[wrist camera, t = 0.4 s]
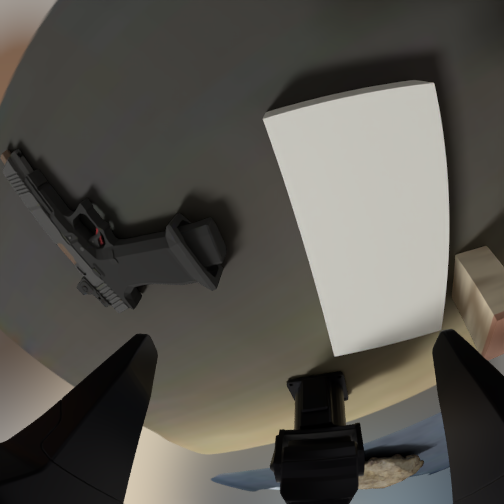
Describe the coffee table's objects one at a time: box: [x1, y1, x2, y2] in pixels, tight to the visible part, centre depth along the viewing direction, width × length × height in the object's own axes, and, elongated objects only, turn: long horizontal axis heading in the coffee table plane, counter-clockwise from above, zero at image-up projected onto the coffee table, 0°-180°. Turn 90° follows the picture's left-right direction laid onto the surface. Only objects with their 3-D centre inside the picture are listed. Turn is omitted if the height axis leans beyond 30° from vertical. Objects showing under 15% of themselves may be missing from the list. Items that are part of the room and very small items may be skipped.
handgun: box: [0, 149, 226, 313], centre depth 22 cm, size 3×21×15 cm
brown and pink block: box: [452, 246, 504, 360], centre depth 19 cm, size 5×4×8 cm
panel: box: [263, 80, 449, 357], centre depth 20 cm, size 20×10×3 cm, turn 19°
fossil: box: [358, 454, 424, 489], centre depth 48 cm, size 16×10×20 cm
